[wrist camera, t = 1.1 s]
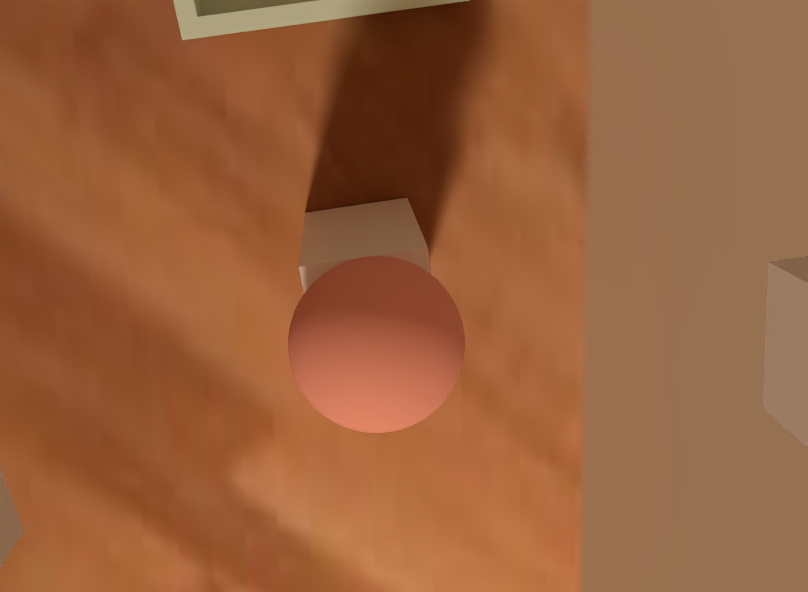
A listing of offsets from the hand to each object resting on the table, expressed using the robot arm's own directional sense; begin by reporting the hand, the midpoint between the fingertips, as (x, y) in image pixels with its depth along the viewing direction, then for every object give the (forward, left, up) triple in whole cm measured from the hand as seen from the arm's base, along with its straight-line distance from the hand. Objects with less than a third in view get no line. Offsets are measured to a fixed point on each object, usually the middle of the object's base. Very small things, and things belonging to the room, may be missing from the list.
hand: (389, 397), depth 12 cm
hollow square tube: (+5, 0, -24) cm, 25 cm away
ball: (+5, 0, -14) cm, 15 cm away
